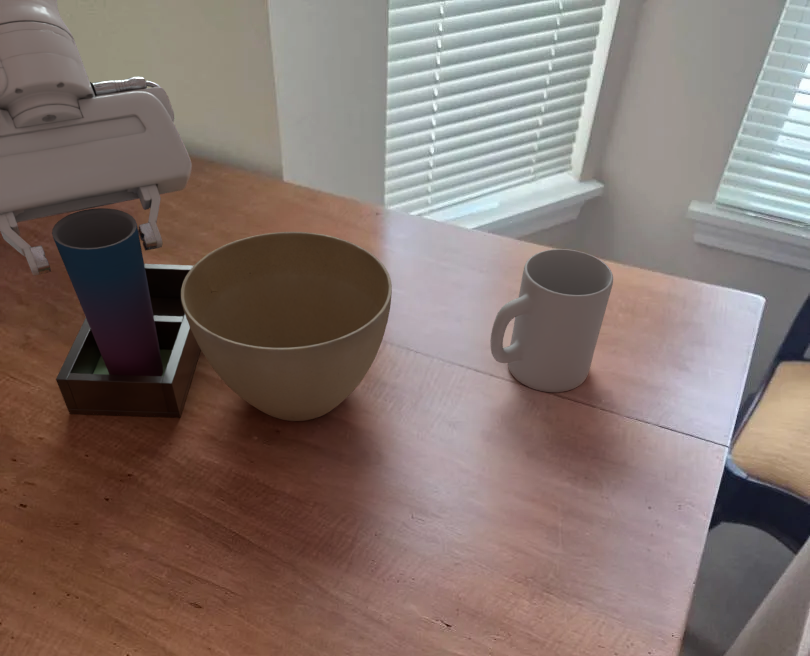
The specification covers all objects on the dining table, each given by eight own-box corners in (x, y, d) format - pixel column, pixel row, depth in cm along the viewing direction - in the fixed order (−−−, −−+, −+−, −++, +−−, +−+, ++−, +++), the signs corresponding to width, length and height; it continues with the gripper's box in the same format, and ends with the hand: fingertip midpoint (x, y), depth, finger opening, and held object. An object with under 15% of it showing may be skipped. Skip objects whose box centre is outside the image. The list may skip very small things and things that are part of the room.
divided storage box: (69, 413, 71) (55, 379, 68) (122, 295, 84) (112, 262, 81) (180, 417, 71) (171, 383, 68) (216, 299, 84) (210, 265, 81)
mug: (555, 334, 82) (577, 240, 74) (605, 378, 78) (633, 283, 69) (463, 365, 78) (474, 268, 70) (509, 413, 74) (527, 316, 65)
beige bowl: (219, 337, 80) (199, 228, 70) (389, 342, 80) (392, 234, 71) (190, 456, 68) (161, 344, 59) (388, 460, 69) (391, 350, 59)
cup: (168, 347, 77) (132, 203, 65) (176, 388, 73) (140, 243, 61) (99, 358, 75) (50, 213, 64) (103, 400, 71) (52, 253, 60)
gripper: (157, 92, 68) (211, 245, 70) (-90, 130, 61) (-22, 297, 63) (162, 53, 62) (221, 220, 64) (-111, 89, 55) (-34, 275, 57)
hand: (99, 259), depth 64 cm, fingers open, 8 cm apart
